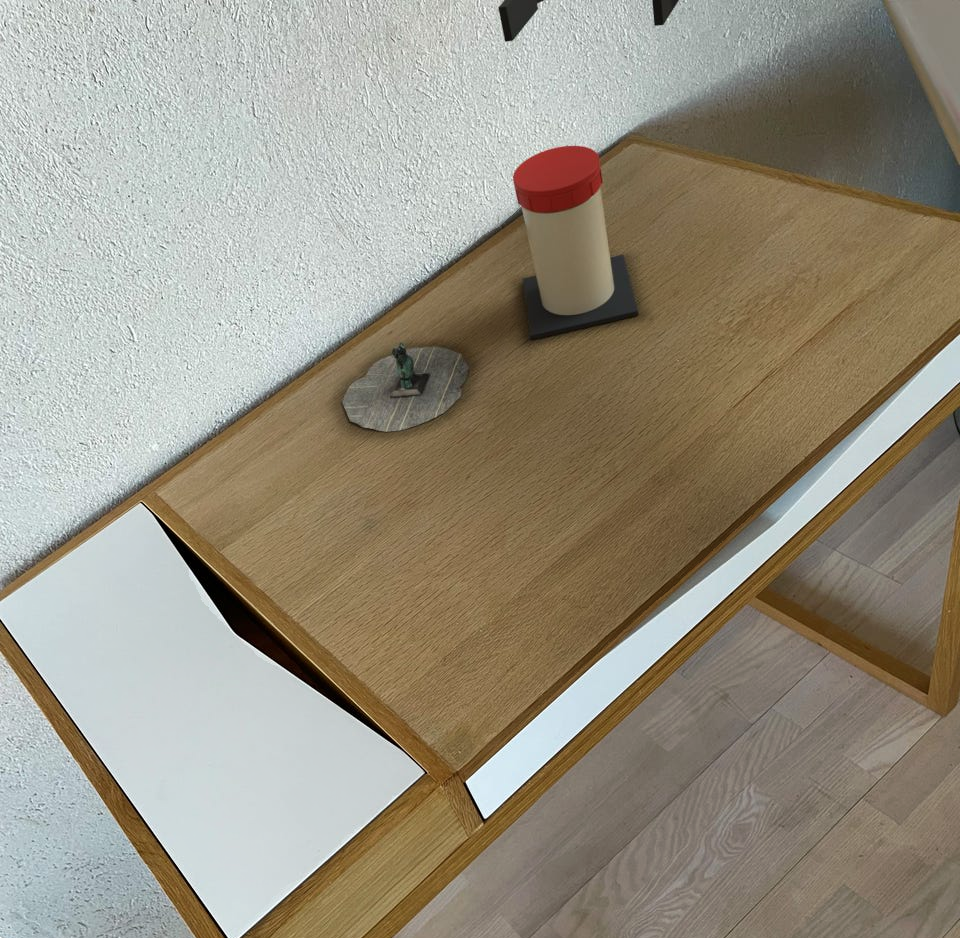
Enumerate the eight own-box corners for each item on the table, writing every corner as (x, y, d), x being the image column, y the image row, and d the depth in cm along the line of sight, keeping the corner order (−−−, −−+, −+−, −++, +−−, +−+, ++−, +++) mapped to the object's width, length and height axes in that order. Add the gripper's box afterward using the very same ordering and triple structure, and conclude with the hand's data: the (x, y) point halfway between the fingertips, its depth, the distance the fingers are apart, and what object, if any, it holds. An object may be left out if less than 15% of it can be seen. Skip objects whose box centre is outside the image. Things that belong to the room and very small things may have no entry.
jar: (609, 265, 92) (592, 146, 83) (619, 305, 87) (602, 183, 79) (538, 282, 93) (514, 166, 84) (544, 322, 89) (519, 204, 80)
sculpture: (448, 335, 93) (451, 304, 85) (480, 423, 93) (487, 400, 85) (331, 375, 92) (323, 347, 84) (364, 464, 92) (359, 445, 84)
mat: (623, 258, 93) (623, 254, 93) (638, 315, 87) (637, 310, 86) (523, 282, 95) (522, 278, 94) (530, 340, 88) (529, 335, 88)
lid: (597, 158, 84) (593, 137, 83) (607, 199, 80) (604, 176, 78) (514, 180, 85) (510, 159, 84) (520, 221, 81) (515, 199, 79)
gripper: (784, -53, 89) (729, 50, 78) (538, -20, 99) (458, 75, 88) (785, -153, 83) (725, -57, 72) (523, -107, 93) (436, -17, 82)
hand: (578, 16), depth 80 cm, fingers open, 13 cm apart
